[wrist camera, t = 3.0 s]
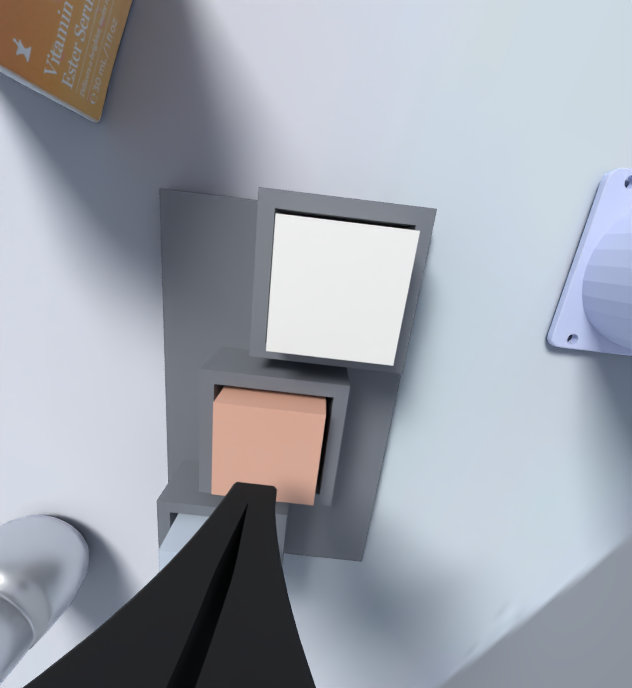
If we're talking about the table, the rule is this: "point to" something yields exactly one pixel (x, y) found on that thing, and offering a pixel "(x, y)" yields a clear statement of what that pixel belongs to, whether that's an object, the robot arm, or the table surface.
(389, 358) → the ivory key
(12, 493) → the table surface
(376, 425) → the panel
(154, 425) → the table surface
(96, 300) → the table surface
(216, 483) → the terracotta key
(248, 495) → the robot arm
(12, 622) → the plastic bottle
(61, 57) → the small box
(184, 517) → the slate key
